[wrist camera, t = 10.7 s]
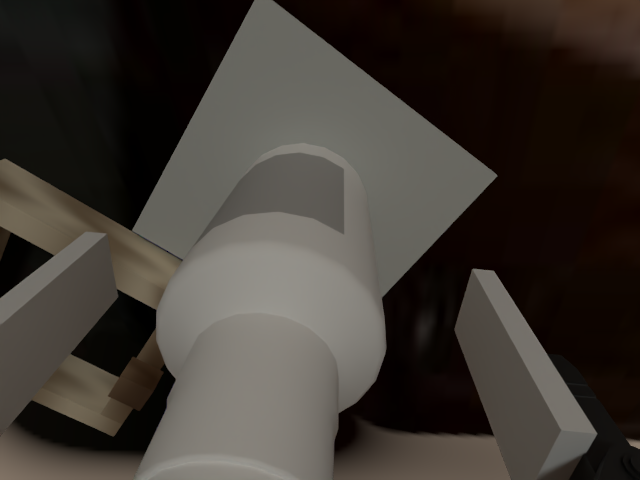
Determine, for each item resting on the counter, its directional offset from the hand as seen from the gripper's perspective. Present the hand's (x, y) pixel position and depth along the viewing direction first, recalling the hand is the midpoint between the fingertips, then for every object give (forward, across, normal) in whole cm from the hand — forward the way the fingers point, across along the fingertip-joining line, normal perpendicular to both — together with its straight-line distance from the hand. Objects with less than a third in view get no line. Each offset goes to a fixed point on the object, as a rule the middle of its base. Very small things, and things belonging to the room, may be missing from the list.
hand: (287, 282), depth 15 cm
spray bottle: (+8, 0, 0) cm, 8 cm away
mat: (+8, 0, 0) cm, 8 cm away
